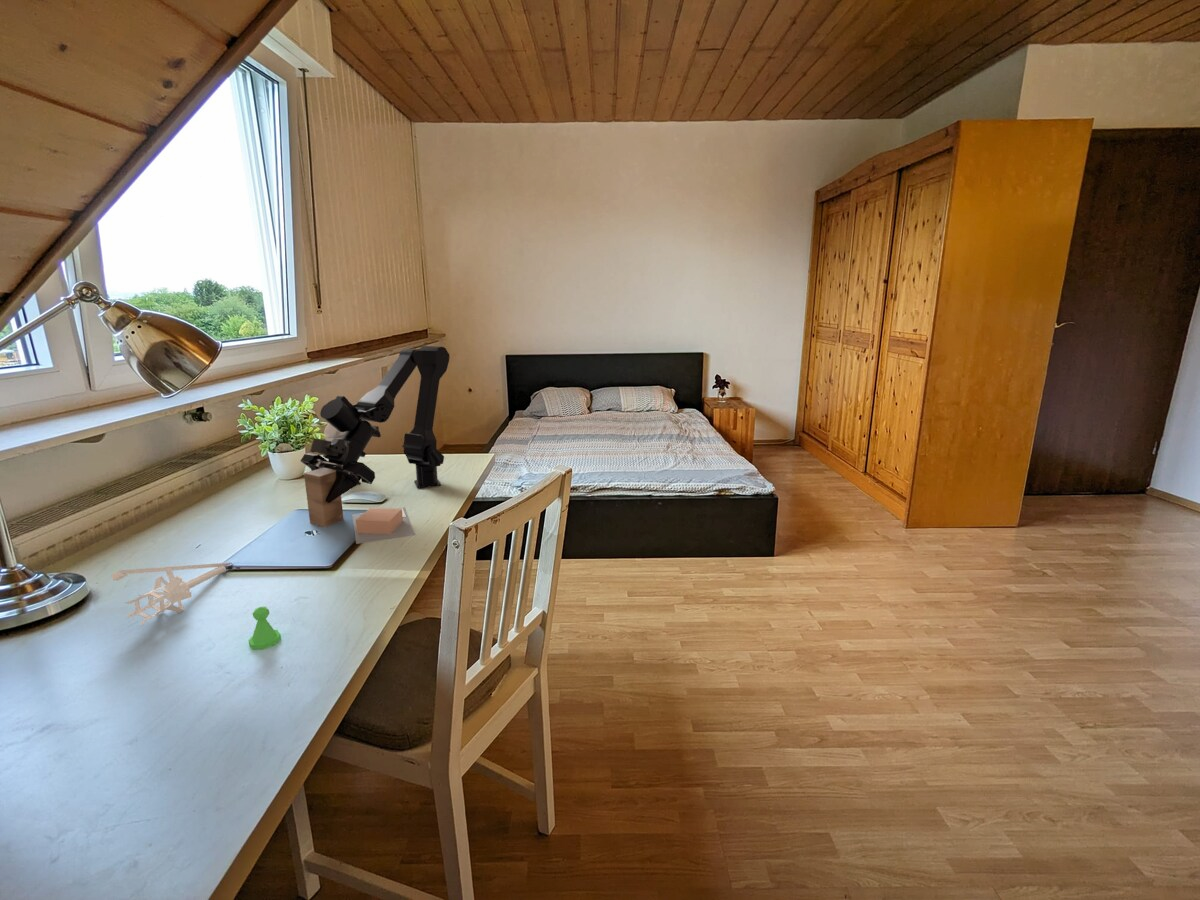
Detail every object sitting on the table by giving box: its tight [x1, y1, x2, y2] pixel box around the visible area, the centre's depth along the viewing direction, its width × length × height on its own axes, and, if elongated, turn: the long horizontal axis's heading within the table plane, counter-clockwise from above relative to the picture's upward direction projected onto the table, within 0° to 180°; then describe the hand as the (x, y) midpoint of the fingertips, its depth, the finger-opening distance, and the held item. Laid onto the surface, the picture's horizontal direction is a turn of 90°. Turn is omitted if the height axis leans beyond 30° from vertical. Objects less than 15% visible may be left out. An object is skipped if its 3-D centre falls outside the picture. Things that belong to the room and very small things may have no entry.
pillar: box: [303, 467, 344, 528], centre depth 128 cm, size 5×5×13 cm
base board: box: [351, 507, 416, 545], centre depth 128 cm, size 18×12×1 cm, turn 26°
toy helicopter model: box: [111, 562, 233, 626], centre depth 97 cm, size 6×9×25 cm
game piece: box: [248, 606, 282, 650], centre depth 85 cm, size 4×4×6 cm
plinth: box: [356, 507, 403, 534], centre depth 126 cm, size 8×8×3 cm
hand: (318, 500), depth 127 cm, fingers closed on pillar, 5 cm apart
